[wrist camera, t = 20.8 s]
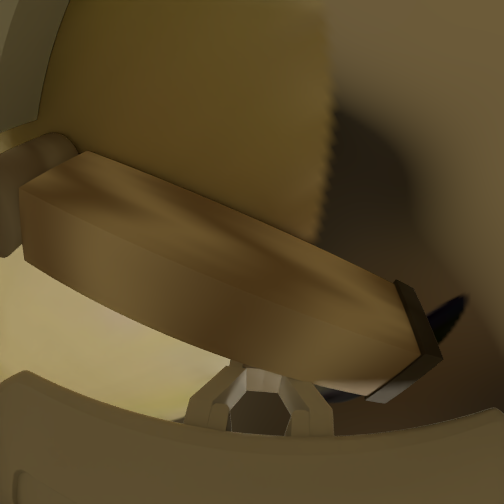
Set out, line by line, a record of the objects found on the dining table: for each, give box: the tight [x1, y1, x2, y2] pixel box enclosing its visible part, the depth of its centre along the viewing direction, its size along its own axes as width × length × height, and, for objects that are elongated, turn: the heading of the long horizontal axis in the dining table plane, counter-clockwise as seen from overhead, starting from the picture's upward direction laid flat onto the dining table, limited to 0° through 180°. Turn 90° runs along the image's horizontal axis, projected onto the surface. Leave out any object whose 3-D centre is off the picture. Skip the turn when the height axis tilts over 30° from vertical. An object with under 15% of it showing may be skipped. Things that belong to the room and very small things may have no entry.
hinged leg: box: [0, 133, 443, 403], centre depth 9 cm, size 19×4×4 cm, turn 67°
